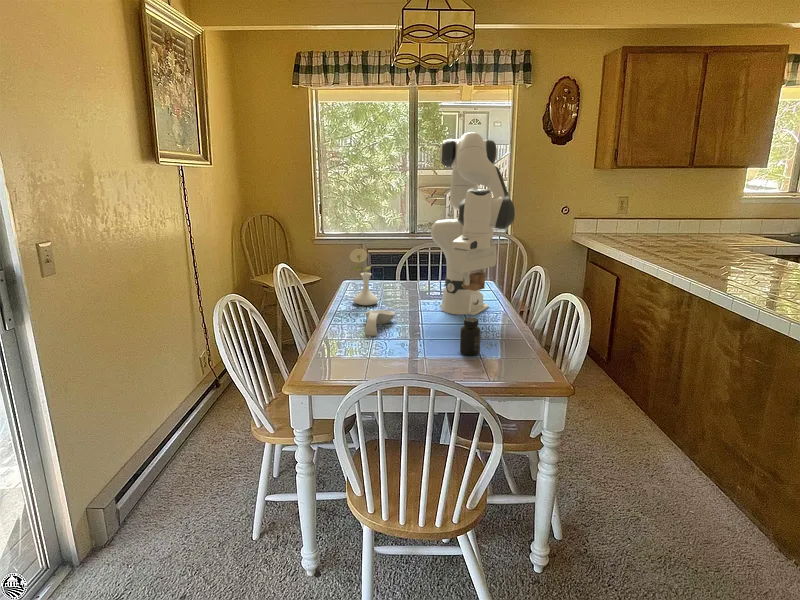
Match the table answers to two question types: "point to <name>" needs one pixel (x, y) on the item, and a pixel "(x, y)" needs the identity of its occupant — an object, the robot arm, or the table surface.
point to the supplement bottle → (470, 337)
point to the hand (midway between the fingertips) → (473, 283)
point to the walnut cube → (475, 281)
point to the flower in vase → (365, 295)
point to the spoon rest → (377, 320)
